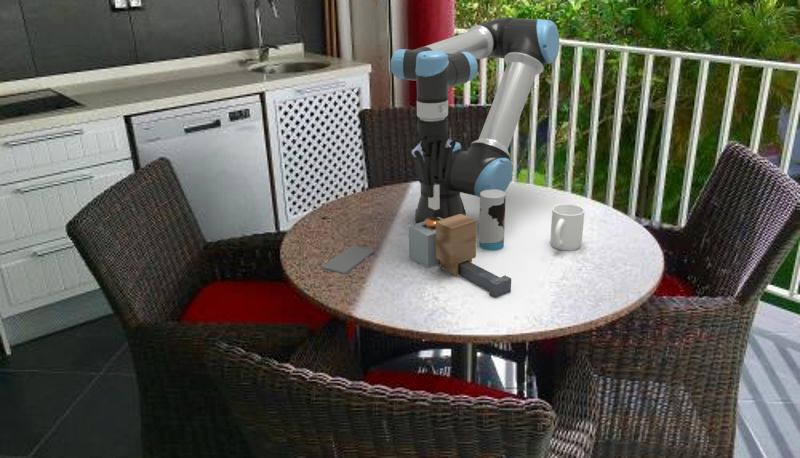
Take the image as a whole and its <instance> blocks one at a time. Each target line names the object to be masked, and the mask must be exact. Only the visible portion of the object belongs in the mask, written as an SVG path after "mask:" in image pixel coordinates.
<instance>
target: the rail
mask: <svg viewBox="0 0 800 458" xmlns="http://www.w3.org/2000/svg"><path fill="white" fill-rule="evenodd" d="M438 265H439V266H440V260H439V264H438ZM457 276H460V277H461V278H463V279H465V280H467V281H468V282H471V283H472V284H474V285H476V286H479V287H480V288H481V289H483V290H485V291H487V292H488V293H489V296H491V297H493V298H495V299H496V298H499V297H501V296H503V295H505V294H508V293H511V292H512V278H511V277H509V276H507V275H506V274H505V275H503V276H498V275H496V274H495V273H492V272H491V271H488V270H486V269H484V268H482V267H481V266H479V265H477V264H474V263H473V262H472V263H471V262H469V261H465V262H462V263H459V264H458V275H457Z"/></svg>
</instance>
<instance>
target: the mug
mask: <svg viewBox="0 0 800 458" xmlns="http://www.w3.org/2000/svg"><path fill="white" fill-rule="evenodd" d="M584 220H585V208H584V207H582V206H581V205H577V204H571V203H562V204H561V203H560V204H556V205H554V206H553V207H552V212H551V227H550V228H551V229H550V244H551V246H552V247H553V248H555V249H558V250H561V251H576V250H577V249H580V247H582V244H583V243H582V242H583V231H584V224H585V223H584Z"/></svg>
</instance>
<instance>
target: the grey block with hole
mask: <svg viewBox="0 0 800 458" xmlns="http://www.w3.org/2000/svg"><path fill="white" fill-rule="evenodd" d="M437 218H440V217H437ZM440 219H441V220H442V218H440ZM407 228H408V253H409V254H408V258H409V259H410V260H413V261H414V262H416V263H418V264H420V265H421V266H424V267H425V268H427V269H430V268H432V267H435V266H438V265H439V259H437V258H436V230H433V231H431V230H429V229H427V226H425V221H424V222H421V223H415V224H412V225H408V227H407Z"/></svg>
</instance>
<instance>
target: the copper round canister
mask: <svg viewBox="0 0 800 458" xmlns="http://www.w3.org/2000/svg"><path fill="white" fill-rule="evenodd" d="M439 220H441V219H440V218H434V217H432V218H427V219H425V226H427V229H429V230H431V231H433V230H436V221H439Z"/></svg>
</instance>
